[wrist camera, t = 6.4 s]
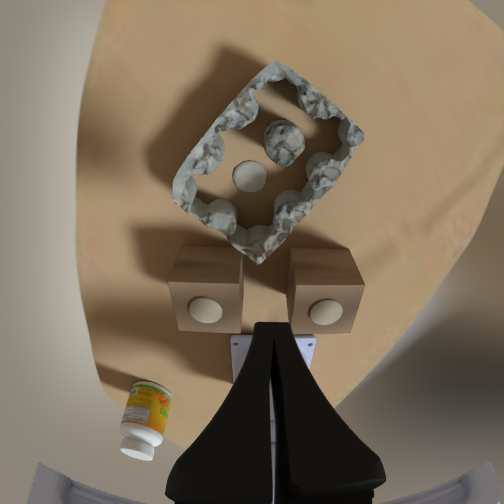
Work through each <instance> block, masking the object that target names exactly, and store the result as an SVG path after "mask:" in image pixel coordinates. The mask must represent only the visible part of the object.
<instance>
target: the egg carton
mask: <svg viewBox="0 0 504 504" xmlns="http://www.w3.org/2000/svg"><path fill="white" fill-rule="evenodd" d="M284 78H286V79H287V80H288V81H289V82H290V83H292V84H294V85H296V88H297V90H298V91H297V92H298V94H297V99H298V104H299V106H300V107H301V109H302V110H303V111H305V112H306V113H307V114H309V115H310V116H311V117H313V118H317V117H318V118H322V119H329V118H331V117H333V116H336V117H338V118H340V119H341V121H340V124H339V126H338V136H339V138H340V140H341V142H342V145H341V146H340V148H339V149H338V151H336V152H335V153H334V154H333V155H332V154H330V153H327V152H317V153H315V154H313V155H312V156H310V157H309V159H308V160H307V163H306V165H305V171H306V175H307V178H308V181H307V182H306V184H305V186H304V188H303V189H302V191H301V192H299V191H297V190H293V189H291V190H285V191H283V192H281V193H279V194H278V195H277V197H276V198H275V201H274V217H273V224H272V225H270V226H265V225H256V226H253V227H251V228H249V229H248V230H245V229H243V228H242V227H241V226H239V225H238V224H237V218H238V211H237V208H236V206H235V205H234V204H233V203H232V202H230V201H228V200H224V199H216V200H214V201H212V202H210V203H209V204H205V203H203V202H202V201H201V200H200V199H198V198H197V196H196V195H197V190H198V189H197V183H196V181H195V179H194V178H193V177H191V175H192V174H200V175H203V174H207V175H208V173H210V172H212V171H214V170H215V169H216V168H217V167H218V165H219V164H220V162H221V160H222V157H223V156H224V152H225V144H224V141H223V139H222V138H221V136H220V135H219V132H220V131H225V130H227V129H228V128H235V129H236V130H237V129H242V128H243V127H245V126H246V125H247V124H249V123H251V122H253V121H254V120H255V118H256V116H257V114H258V109H259V106H258V103H257V101H256V98H255V96H254V95H253V91H254V90H257V89H264V87H265V86H266V82H267V81H268V82H277V81H280V80H282V79H284ZM300 129H301V128H300ZM300 129H299V128H298V127H297V125H295V124H294V123H293V122H291V121H287V120H276V121H273V122H272V123H270V124H269V125H268V126H267V128H266V129H265V133H264V148H265V153H266V154H267V156H268V157H269V158H270V159H271V160H272V161H274V162H275V163H276V164H277V165H279V166H281V167H288V166H290V165H291V164H293V162H294V160H295V159H296V158H297V157H298V156H299V155H300V154H301V153H302V152H303V150H304V148H305V142H304V136H303V134H302V132H301V131H300ZM365 136H366V135H365V134H364V133H363V132H362V131H361V129H359V128H358V126H357V125H356V124H355V123H354V122H353V121H352V120H351V119H349V118H348V117H347V116H346V115H345V114H343V113H342V112H341V111H340V110H339V109H338V108H337V107H336V106H335V105H334V104H333V103H332V102H331V101H330V100H329V99H327V98H326V97H325V96H324V95H323V94H322V93H320V92H319V91H318V90H317V89H316V88H314V87H313V86H312V85H311V84H310V83H308V82H307V80H305V79H304V78H303V77H301V76H300V75H298V74H297V73H296V72H294V71H293V70H291V69H290V68H288V67H287V66H285V65H283V64H281V63H279V62H277V61H274V62H271V63H270V64H269V65H268V66H266V67H265V68H264V69H263V70H261V71H260V72H259V73H258V74H257V75H256V76H255V77H254V78H253V79H252V80H251V81H250V82H249V83H248V84H247V85H246V86H245V87H244V88H243V89H242V91H241V92H240V93H239V94H238V95H237V96H236V97H235V98H234V100H233V101H232V102H231V103H230V104H229V105H228V107H227V108H226V109H225V110H224V112H223V113H222V114H221V115H220V116H219V117H218V118H217V119H216V120H215V122H214V123H213V124H212V126H211V127H210V128H209V130H208V131H207V132H206V133H205V135H204V136H203V137H202V138H201V140H200V141H199V142H198V144H197V145H196V146H195V147H194V149H193V150H192V151H191V152H190V154H189V155H188V157H187V158H186V160H185V161H184V163H183V164H182V166H181V167H180V169H179V170H178V172H177V174H176V176H175V178H174V180H173V185H172V190H173V202H174V203H176V204H177V205H178V206H180V207H181V208H182V209H183V210H184V211H185V212H186V213H190V214H192V215H193V216H195V217H196V218H198V219H199V220H200V221H202V222H203V224H204V225H205V226H207V227H209V228H211V226H213V227H214V228H215V229H217V230H218V231H220V232H221V233H223V234H224V235H226V236H227V239H228V240H229V242H230V243H231V244H232V245H233V246H234V247H235V248H236V249H237V250H239V251H240V252H242V253H243V254H245V255H246V256H248V257H249V258H250V259H251V260H253V261H254V262H253V263H254V264H255V265H259V264H261V263H262V262H263V261H264V260H265V258H266V257H269V256H270V255H271V254H272V253H273V252H274V250H275V249H276V248H277V247H279V246H280V245H281V244H282V243H283V241H284V240H285V239H286V238H287V237H288V236H289V234H290V233H291V232H292V229H293V227H294V226H295V225H296V224H297V223H298V222H299V221H300V220H301V219H302V218H303V217H304V216H306V215H307V214H308V213H309V212H310V211H311V209H312V207H313V206H314V205H315V204H316V203H317V202H318V201H319V200H320V199H321V197H322V196H323V195H324V194H325V193H326V192H327V191H328V190H329V189H330V188H331V187H333V185H334V184H335V182H336V181H337V179H338V178H339V176H340V175H341V173H342V171H343V170H344V168H345V166H346V164H347V162H348V161H349V160H350V158H351V156H352V154H353V152H354V150H355V148H356V147H357V146H359V145H360V144H361V143H362V142H363V140H364V138H365ZM233 180H234V183H235V185H236V187H237V188H238V189H240V190H241V191H243V192H247V193H254V192H257V191H259V190H261V189H262V188H263V187H264V186H265V184H266V182H267V171H266V169H265V167H264V166H263V165H262V164H260V163H258V162H256V161H246V162H243V163H241V164H239V165H238V166H237V167H236V168H235V170H234V173H233Z"/></svg>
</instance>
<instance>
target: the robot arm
mask: <svg viewBox="0 0 504 504" xmlns="http://www.w3.org/2000/svg"><path fill="white" fill-rule="evenodd" d="M230 342H231V356H232V369H233V382H234V384H233V386H232V388H231V390H230V392H229V393H228V395H227V397H226V399H225V400H224V402H223V403H222V405H221V407H220V408H219V410H218V411H217V413H216V414H215V416H214V417H213V418H212V420H211V421H210V423H209V424H208V425H207V426H206V428H205V429H204V430H203V431H202V433H201V434H200V435H199V436H198V438H197V439H196V440H195V441H194V442H193V443H192V445H191V446H190V447H189V448H188V449H187V450H186V451H185V452H184V453H183V454H182V455H181V456H180V457H179V458H178V459H177V461H176V463H175V464H174V466H173V468H172V470H171V472H170V474H169V477H168V480H167V484H166V491H165V495H166V496H167V497H168V498H169V499H171V500H173V501H174V502H175V504H372V498H373V497H374V491H373V489H375V488H377V487H378V486H380V485H382V484H383V483H384V482H385V481H386V474H385V471H384V467H383V464H382V462H381V460H380V458H379V456H377V454H375V453H374V452H373V451H372V450H371V449H370V448H369V447H368V446H366V444H364V443H363V442H362V441H361V440H360V439H359V438H358V436H357V435H356V434H355V433H354V432H353V431H352V430H351V429H350V428H349V427H348V425H347V424H346V423H345V422H344V421H343V420H342V419H341V417H340V416H339V415H338V414H337V412H336V411H335V410H334V408H333V407H332V406H331V404H330V403H329V401H328V400H327V399H326V397H325V396H324V394H323V393H322V391H321V389H320V388H319V386H318V385H317V383H316V381H315V379H314V378H313V376H312V374H311V372H310V370H309V367H310V364H311V360H312V356H313V352H314V348H315V344H316V337H315V336H313V335H293V332H292V328H291V324H289V323H288V322H257V323H255V325H254V332H253V335H232V336H231V339H230ZM309 343H310V344H309ZM500 502H501V500H500V495H499V490H498V485H497V481H496V477H495V473H494V469H493V465H492V461H488V462H486V463H484V464H482V465H480V466H478V467H476V468H474V469H472V470H470V471H468V472H466V473H465V474H463V475H462V476H460V477H458V478H456V479H453V480H451V481H448V482H446V483H443V484H441V485H438V486H436V487H433V488H430V489H427V490H425V491H422V492H419V493H416V494H413V495H409V496H407V497H403V498H400V499H396V500H392V501H389V502H385V503H380V504H499V503H500ZM27 504H145V503H141V502H137V501H133V500H130V499H126V498H123V497H119V496H116V495H112V494H110V493H106V492H103V491H101V490H97V489H95V488H92V487H89V486H87V485H84V484H81V483H79V482H76V481H74V480H71V479H70V478H69V477H67V476H65V475H63V474H61V473H59V472H57V471H55V470H53V469H51V468H49V467H47V466H44V465H43V464H41V463H38V465H37V468H36V472H35V475H34V478H33V482H32V485H31V489H30V493H29V497H28V501H27Z"/></svg>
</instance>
